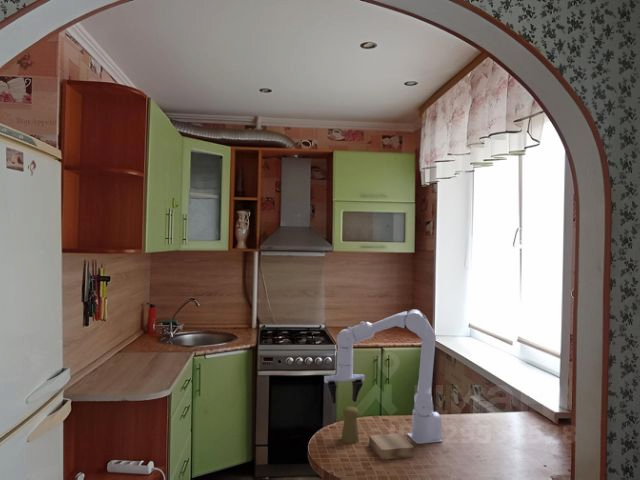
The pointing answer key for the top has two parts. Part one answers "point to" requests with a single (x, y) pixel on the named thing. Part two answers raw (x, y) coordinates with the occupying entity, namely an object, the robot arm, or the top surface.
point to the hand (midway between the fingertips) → (344, 401)
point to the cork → (350, 425)
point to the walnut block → (391, 446)
